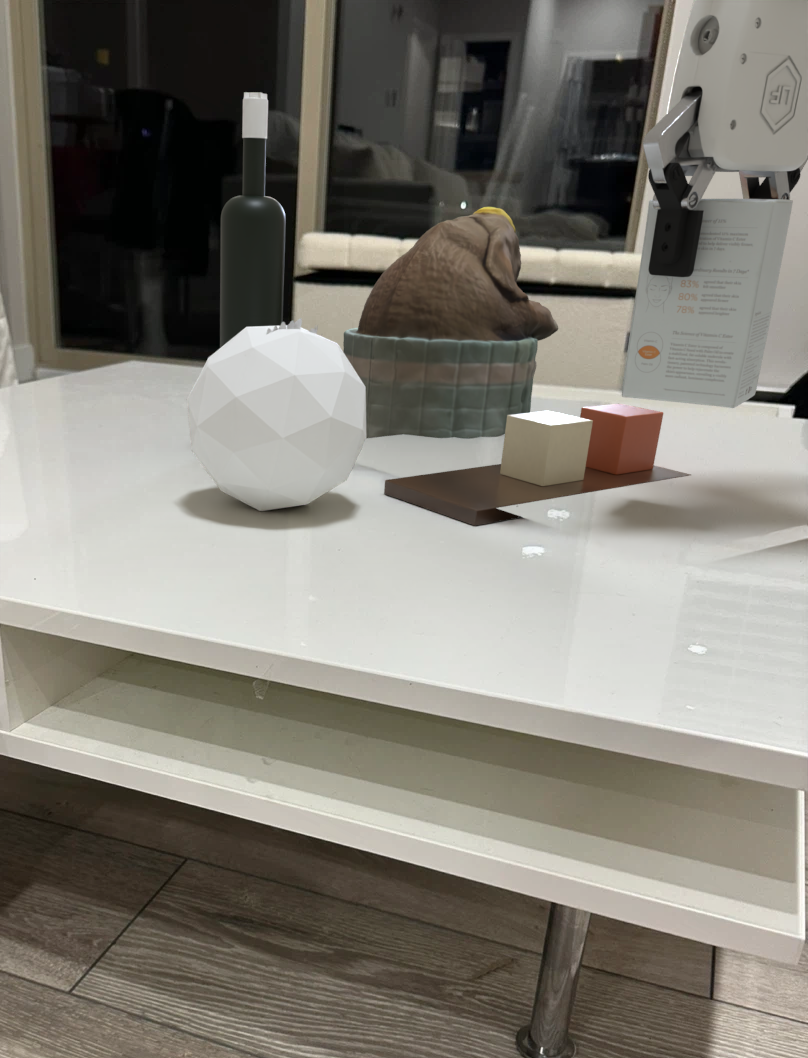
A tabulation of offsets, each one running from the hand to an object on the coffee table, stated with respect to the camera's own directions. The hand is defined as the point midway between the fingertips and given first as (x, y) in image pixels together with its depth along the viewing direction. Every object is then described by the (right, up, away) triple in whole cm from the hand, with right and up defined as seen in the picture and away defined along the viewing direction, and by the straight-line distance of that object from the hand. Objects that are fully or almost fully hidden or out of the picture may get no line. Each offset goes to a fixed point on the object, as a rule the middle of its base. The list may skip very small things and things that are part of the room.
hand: (709, 272), depth 73 cm
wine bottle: (-33, -5, +29) cm, 44 cm away
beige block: (-7, -10, +17) cm, 21 cm away
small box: (0, -8, +4) cm, 9 cm away
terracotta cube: (0, -8, +22) cm, 23 cm away
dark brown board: (-7, -11, +18) cm, 22 cm away
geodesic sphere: (-30, -14, +12) cm, 35 cm away
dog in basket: (-11, +1, +43) cm, 45 cm away
